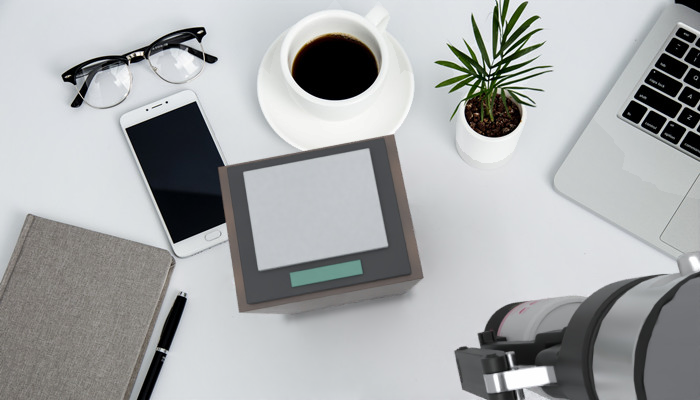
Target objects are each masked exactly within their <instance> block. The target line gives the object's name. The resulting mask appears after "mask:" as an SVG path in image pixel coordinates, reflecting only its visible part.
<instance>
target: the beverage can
mask: <svg viewBox="0 0 700 400" xmlns="http://www.w3.org/2000/svg"><path fill="white" fill-rule="evenodd" d="M588 297H589V296H585V295H563V296H556V297H548V298H540V299H532V300H531V299H530V300H524V301H516V302H511V303H507V304H505V305H503V306H501V307H500V308H498V309H497V310H496V311H495V312H494V313H492V315H491V316H490V317H489V319H488V321H487V322H486V325H485V327H484V331H483V332H486V331H492V330H495V335H496V336H501V337H506V339H507V341H532V340H535V336H536V335H537V334H539V333H543V332H548V331H553V330H558V329H563V328H564V327H567V326H568V323H569V321H570V319H571V317H572V316H573V314H574V313H575V311H576V310H577V308H578V307H579V306H580V305H581V304H582V303H583V301H585V300H586V299H587V298H588ZM525 389H526V390H528V391H529V392H532V393H534V394H537V395H539V396H541V397H543V398H545V399H547V400H569V399H563V398H553V397H551V396H549V395H547V394H546V393H545V392H544V391H543V390H542V388H541V387H531V388H525Z"/></svg>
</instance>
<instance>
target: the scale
mask: <svg viewBox="0 0 700 400" xmlns="http://www.w3.org/2000/svg"><path fill="white" fill-rule="evenodd" d="M227 173H228V180H229V187H230V194H231V200H232V207H233V214H234V221H235V227H236V234H237V241H238V247H239V254H240V261H241V268H242V274H243V281H244V288H245V295H246V301H247V304H250V305H251V304H256V303H262V302H267V301H272V300H278V299H283V298H288V297H294V296H299V295H304V294H310V293H315V292H320V291H326V290H331V289H336V288H341V287H347V286H352V285H357V284H363V283H368V282H373V281H379V280H384V279H389V278H395V277H400V276H405V275H410V274H411V273H412V272H411V267H410V262H409V257H408V252H407V247H406V242H405V237H404V233H403V228H402V223H401V218H400V213H399V208H398V203H397V198H396V193H395V188H394V183H393V178H392V173H391V168H390V163H389V159H388V154H387V149H386V144H385V139H384V138H379V139H374V140H369V141H364V142H358V143H353V144H348V145H342V146H337V147H332V148H327V149H321V150H316V151H311V152H305V153H300V154H295V155H290V156H284V157H279V158H274V159H268V160H263V161H258V162H253V163H247V164H242V165H237V166H231V167H227Z"/></svg>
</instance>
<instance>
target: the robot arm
mask: <svg viewBox="0 0 700 400" xmlns="http://www.w3.org/2000/svg"><path fill="white" fill-rule="evenodd" d="M676 265H677V268H678V271H679V272H675V273H659V274H651V275H645V276H639V277H632V278H626V279H622V280H617V281H614V282H611V283H609V284H606V285H604V286H603V287H601V288H599V289H597V290H596V291H594V292H593V293H591V294H590V295H589V296H587V297H588V298H587V299H586V300H585V301H583V303H582V304H581V305H580V306H579V307H578V308H577V310H576V311H575V313H574V314H573V316H572V317H571V319H570V321H569V323H568V326H567V327H564V328H563V329H558V330H553V331H548V332H543V333H539V334H537V335H536V336H535V340H532V341H507V339H506V337H501V336H496V335H495V330H492V331H486V332H484V331H481V332H478V333H477V338H478V343H479V347H469V346H467V345H463V346H460V347H458V348H456V349H455V350H454V351H453V352H454V353H453V354H454V357H455V362H456V368H457V371H458V377H459V381H460V385H461V390H462V391H465V392H467V393H469V394H472V395H474V396H476V397H479V398H481V399H484V400H526V396H525V392H524V390H525V389H526V388H531V387H541V388H542V390H543V391H544V392H545V393H546V394H547V395H549V396H551V397H553V398H563V399H569V400H700V250H697V251H688V252H683V253H681V254H680V255H679V256H678V257H677V258H676Z"/></svg>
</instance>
